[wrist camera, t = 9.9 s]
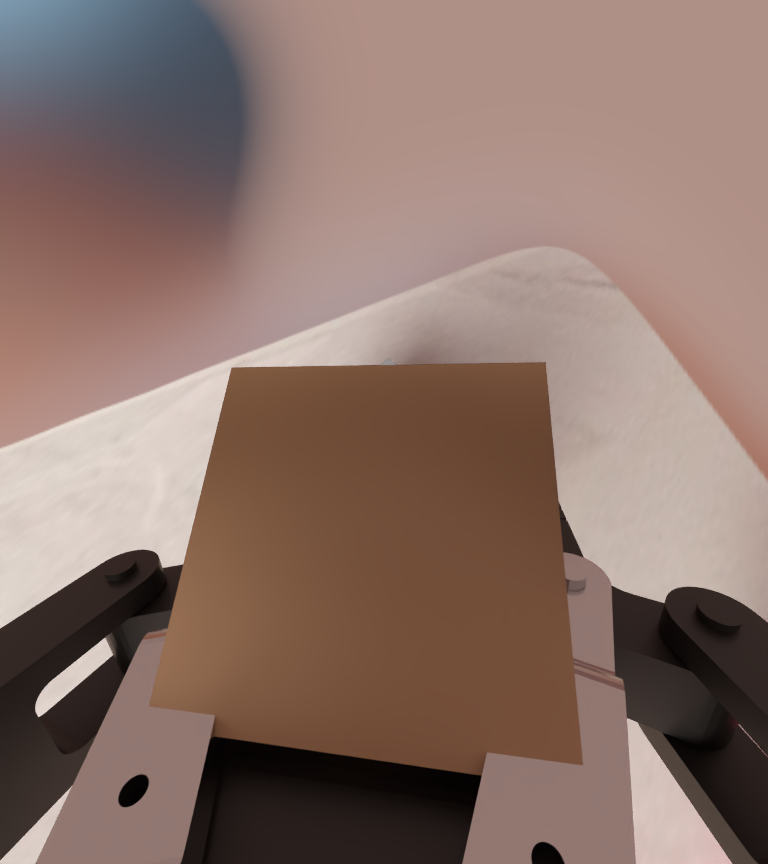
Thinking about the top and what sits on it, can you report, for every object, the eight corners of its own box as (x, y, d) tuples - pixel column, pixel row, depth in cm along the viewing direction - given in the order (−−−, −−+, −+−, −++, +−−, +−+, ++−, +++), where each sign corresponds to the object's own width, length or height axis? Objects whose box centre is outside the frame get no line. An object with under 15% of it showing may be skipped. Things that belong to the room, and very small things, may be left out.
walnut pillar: (480, 641, 15) (585, 790, 4) (361, 629, 15) (144, 725, 4) (478, 518, 16) (545, 362, 5) (370, 513, 17) (231, 367, 6)
